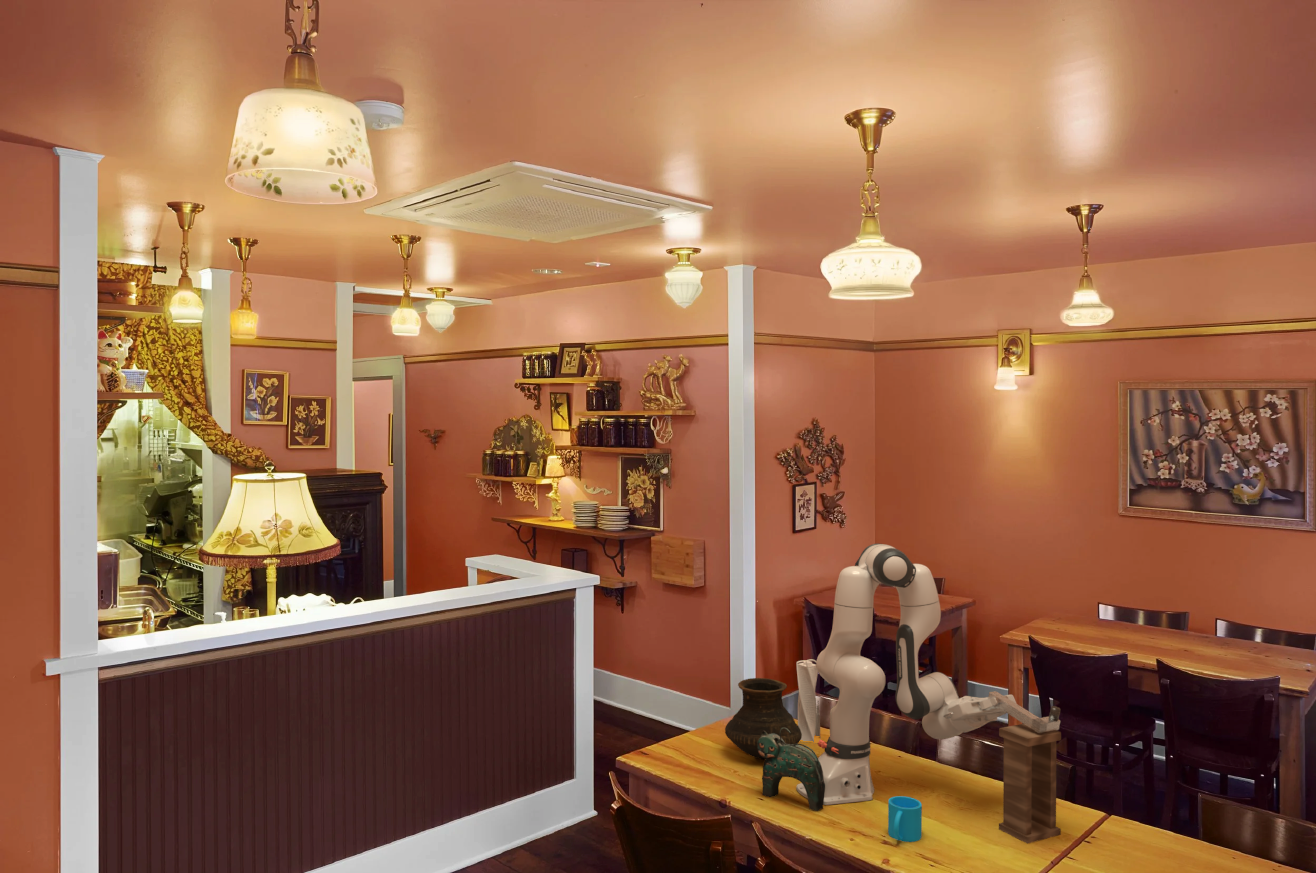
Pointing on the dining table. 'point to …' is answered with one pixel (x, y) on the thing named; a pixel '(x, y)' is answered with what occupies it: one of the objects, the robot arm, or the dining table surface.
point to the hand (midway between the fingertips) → (1002, 699)
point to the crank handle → (1028, 714)
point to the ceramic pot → (761, 716)
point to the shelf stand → (1029, 783)
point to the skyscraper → (808, 700)
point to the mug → (905, 819)
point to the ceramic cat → (791, 767)
